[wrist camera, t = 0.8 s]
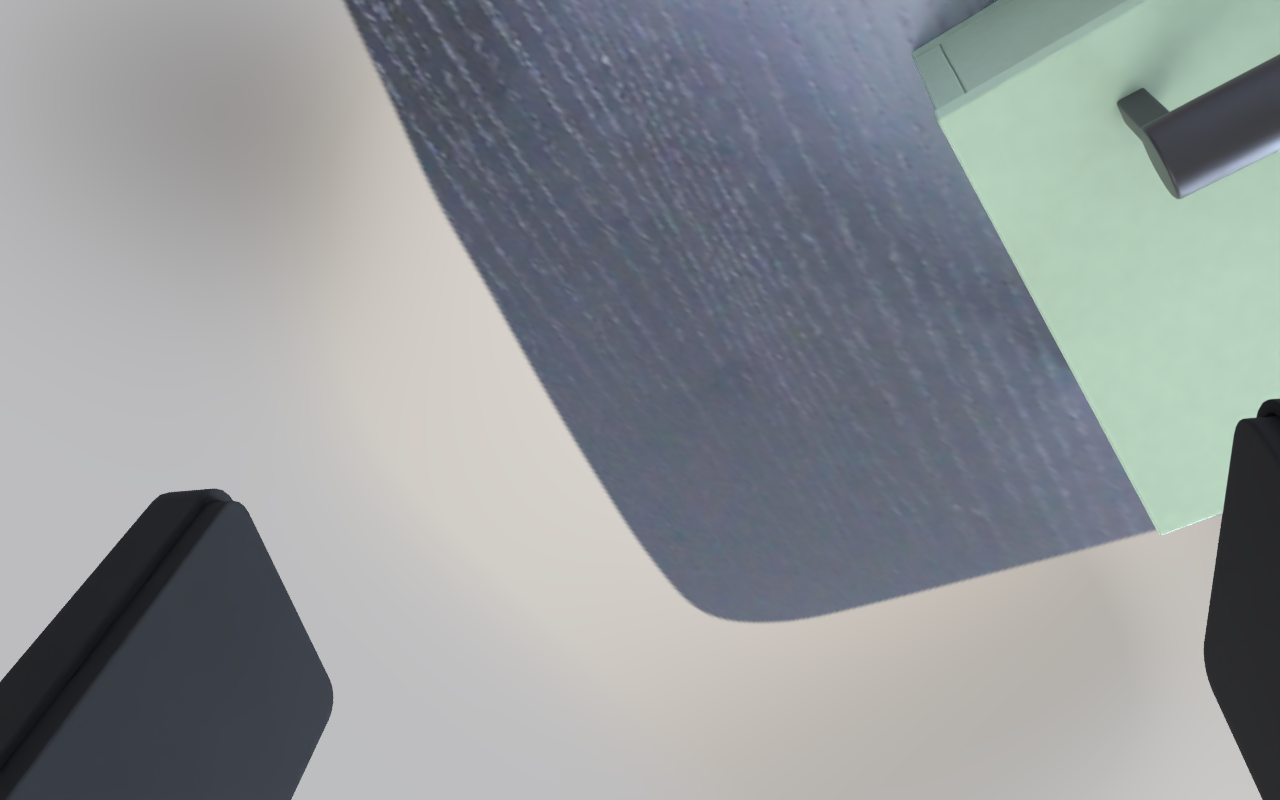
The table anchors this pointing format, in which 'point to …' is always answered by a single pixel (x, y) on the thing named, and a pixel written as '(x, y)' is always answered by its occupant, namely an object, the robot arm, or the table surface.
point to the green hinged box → (998, 42)
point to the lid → (1147, 225)
